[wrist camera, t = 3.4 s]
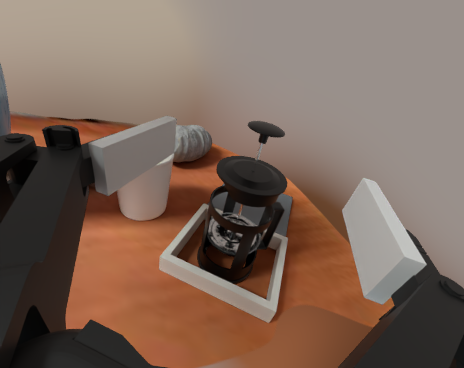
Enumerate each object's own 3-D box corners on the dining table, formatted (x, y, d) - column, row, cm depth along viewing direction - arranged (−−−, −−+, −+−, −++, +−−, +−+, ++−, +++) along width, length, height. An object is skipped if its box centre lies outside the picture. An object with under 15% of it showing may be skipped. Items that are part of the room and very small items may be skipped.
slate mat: (283, 239, 42) (285, 236, 41) (206, 207, 45) (207, 204, 44) (291, 200, 54) (292, 197, 54) (230, 177, 57) (231, 174, 57)
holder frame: (268, 323, 28) (276, 312, 27) (159, 269, 31) (159, 256, 29) (282, 248, 40) (288, 237, 38) (201, 214, 43) (203, 203, 41)
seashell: (202, 144, 71) (207, 115, 65) (222, 167, 61) (230, 134, 56) (152, 146, 62) (153, 112, 57) (167, 172, 53) (169, 134, 47)
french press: (195, 288, 30) (229, 136, 18) (191, 237, 37) (212, 104, 25) (269, 281, 34) (341, 150, 21) (252, 235, 41) (297, 119, 29)
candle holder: (131, 186, 45) (129, 133, 39) (176, 197, 45) (181, 146, 39) (103, 217, 37) (94, 156, 30) (159, 229, 37) (161, 172, 31)
